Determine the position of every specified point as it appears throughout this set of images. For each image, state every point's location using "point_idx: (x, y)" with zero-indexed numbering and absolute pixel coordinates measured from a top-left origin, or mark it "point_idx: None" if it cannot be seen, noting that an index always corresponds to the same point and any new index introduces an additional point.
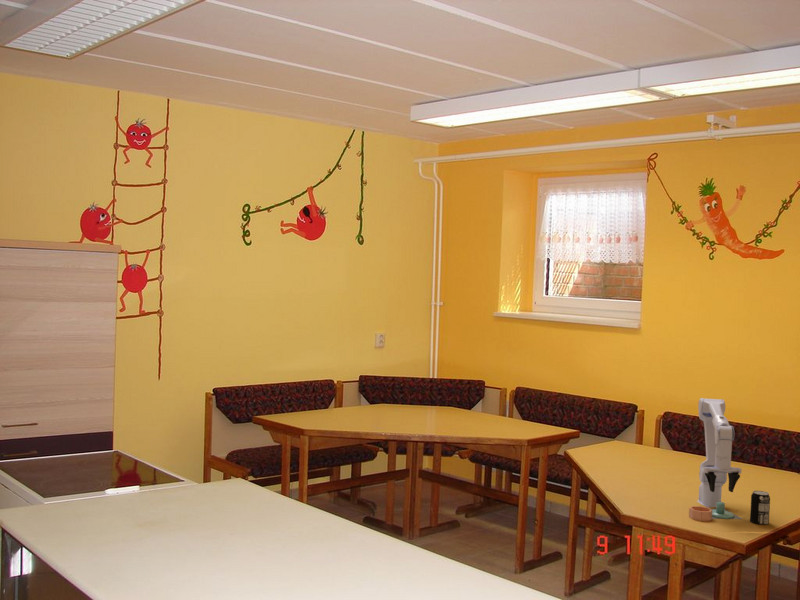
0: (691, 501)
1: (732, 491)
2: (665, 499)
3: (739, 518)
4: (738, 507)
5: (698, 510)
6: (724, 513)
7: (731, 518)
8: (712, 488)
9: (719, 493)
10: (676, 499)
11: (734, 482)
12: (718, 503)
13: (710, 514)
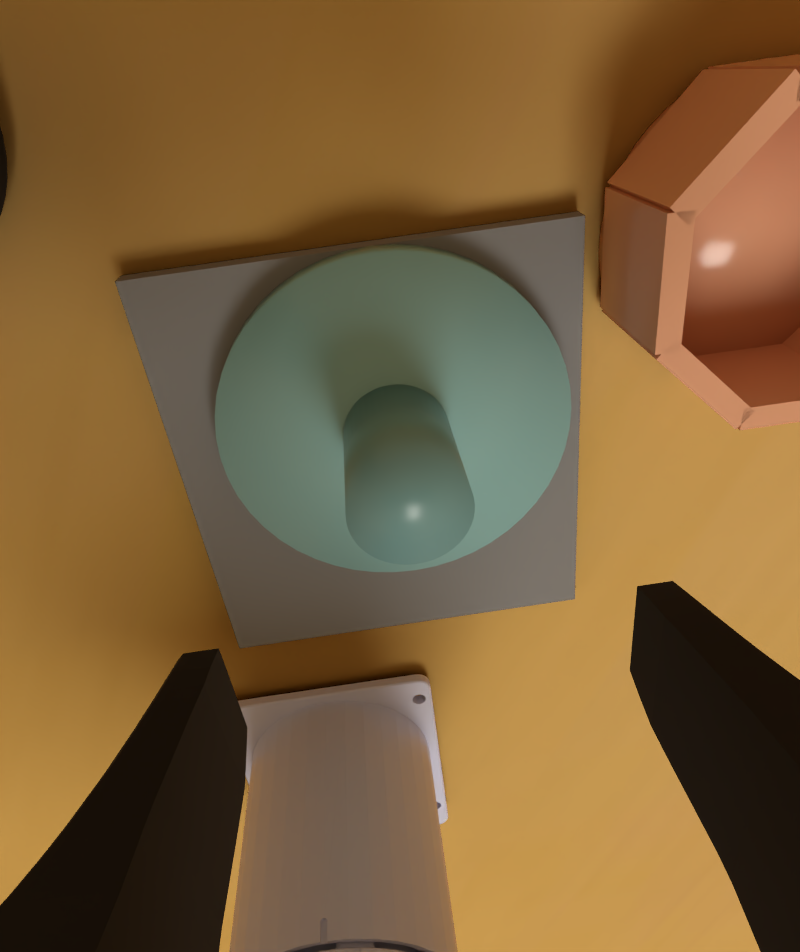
0: (478, 817)
1: (187, 661)
2: (686, 816)
3: (159, 299)
4: (70, 760)
5: (745, 377)
6: (342, 423)
7: (285, 278)
8: (731, 628)
9: (280, 854)
10: (587, 834)
11: (82, 881)
12: (464, 475)
13: (722, 113)
